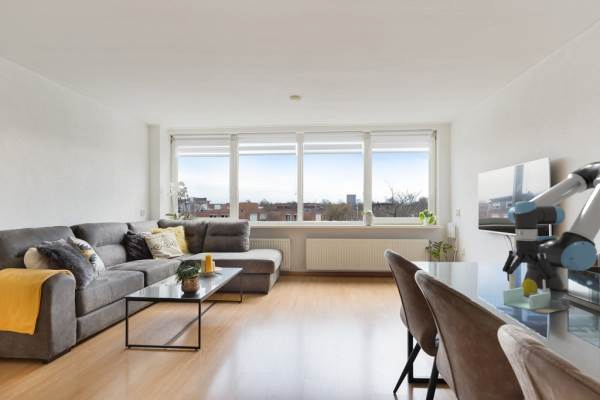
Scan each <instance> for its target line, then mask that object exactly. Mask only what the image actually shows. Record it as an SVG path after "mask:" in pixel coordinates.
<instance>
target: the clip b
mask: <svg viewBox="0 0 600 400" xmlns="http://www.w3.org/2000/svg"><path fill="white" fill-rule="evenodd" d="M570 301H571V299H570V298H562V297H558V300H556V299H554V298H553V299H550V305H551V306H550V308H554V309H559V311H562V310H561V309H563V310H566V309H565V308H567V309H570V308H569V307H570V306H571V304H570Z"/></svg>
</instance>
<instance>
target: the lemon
mask: <svg viewBox="0 0 600 400" xmlns="http://www.w3.org/2000/svg"><path fill="white" fill-rule="evenodd" d="M520 287H522V288H523V289H524V297H529V296H530V293H539V289H538V287H537V284H536V283H535V282H534V281H533V280H531V279H529V278H528V279H526V280H524V279H523V281H522V283H521V286H520Z"/></svg>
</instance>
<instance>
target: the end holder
mask: <svg viewBox="0 0 600 400" xmlns="http://www.w3.org/2000/svg"><path fill="white" fill-rule="evenodd" d="M502 293H503V296H502V297H503V305H505V306H509V307H513V308H517V307H518V309H521V308H522V309H523V310H525V309H526V311H529V310H530V312H534V311H535V310H540V309H544V308H548V307H550V306H551V305H550V300H551V293H549V292H545V293H543V292H541V293H540V292H539V293H540V294H535V295H530V296H528V299H525V295H524V289H523V288H522V287H521V286H520V287H515V288H514V289H504V290H502Z"/></svg>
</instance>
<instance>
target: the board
mask: <svg viewBox="0 0 600 400" xmlns="http://www.w3.org/2000/svg"><path fill="white" fill-rule="evenodd" d="M574 307H575V306H573V305H570V307H569V308H565V309H561V310H559V309H554V308H550V307H548V308H544V309H540V310H535V311H533V313H539V314H544V315H545V314H550V313H553V312H558V311H562V310H566V309H570V308H574ZM516 308H518V307H516ZM518 309H519V308H518ZM520 309H522V308H520ZM524 310H526V309H524ZM526 311H527V310H526ZM528 311H530V310H528ZM530 312H531V311H530Z"/></svg>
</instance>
